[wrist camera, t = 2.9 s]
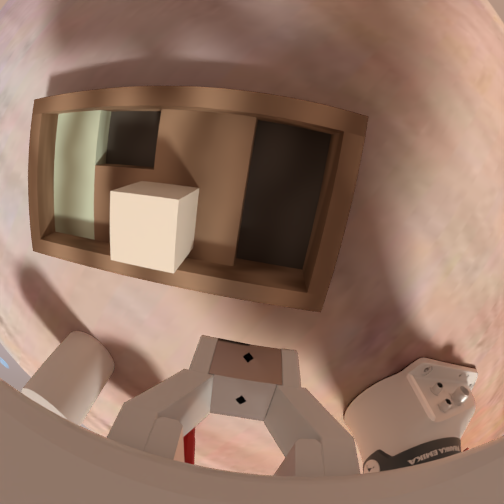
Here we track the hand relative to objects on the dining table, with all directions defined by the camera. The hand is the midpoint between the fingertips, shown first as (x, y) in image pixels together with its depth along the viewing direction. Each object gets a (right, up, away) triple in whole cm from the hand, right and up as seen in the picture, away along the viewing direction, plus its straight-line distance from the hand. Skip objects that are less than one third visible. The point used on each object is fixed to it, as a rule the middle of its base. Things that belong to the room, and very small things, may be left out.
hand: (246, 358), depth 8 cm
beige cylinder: (-22, -11, +24) cm, 34 cm away
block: (-7, +6, +14) cm, 16 cm away
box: (-7, +10, +14) cm, 19 cm away
